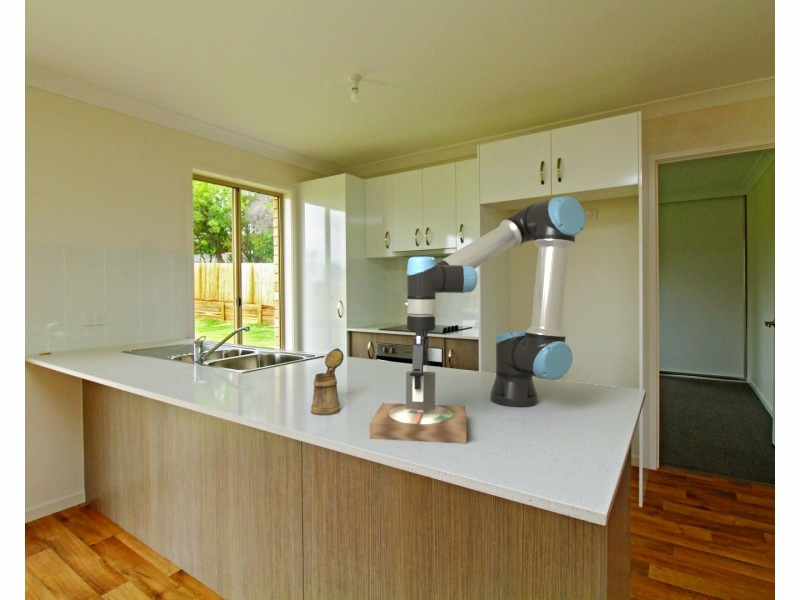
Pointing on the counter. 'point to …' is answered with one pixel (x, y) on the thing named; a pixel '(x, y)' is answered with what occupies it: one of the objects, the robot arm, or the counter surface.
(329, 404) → the wooden mug
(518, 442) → the counter surface
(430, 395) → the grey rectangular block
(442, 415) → the board
